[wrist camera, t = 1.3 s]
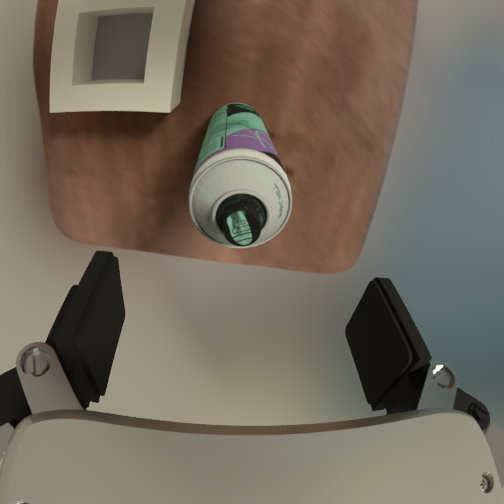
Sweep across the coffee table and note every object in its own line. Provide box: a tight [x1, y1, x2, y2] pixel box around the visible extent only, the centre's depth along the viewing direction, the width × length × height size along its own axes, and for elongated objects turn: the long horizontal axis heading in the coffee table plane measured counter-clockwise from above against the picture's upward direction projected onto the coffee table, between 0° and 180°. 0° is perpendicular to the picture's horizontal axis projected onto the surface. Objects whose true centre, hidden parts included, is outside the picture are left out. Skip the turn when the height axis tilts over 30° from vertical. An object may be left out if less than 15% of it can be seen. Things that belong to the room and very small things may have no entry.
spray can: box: [189, 103, 292, 248], centre depth 22 cm, size 6×6×20 cm
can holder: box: [50, 0, 196, 113], centre depth 21 cm, size 12×12×6 cm
